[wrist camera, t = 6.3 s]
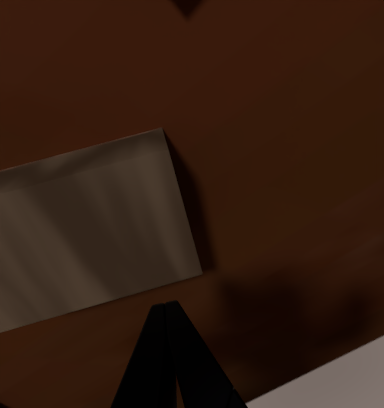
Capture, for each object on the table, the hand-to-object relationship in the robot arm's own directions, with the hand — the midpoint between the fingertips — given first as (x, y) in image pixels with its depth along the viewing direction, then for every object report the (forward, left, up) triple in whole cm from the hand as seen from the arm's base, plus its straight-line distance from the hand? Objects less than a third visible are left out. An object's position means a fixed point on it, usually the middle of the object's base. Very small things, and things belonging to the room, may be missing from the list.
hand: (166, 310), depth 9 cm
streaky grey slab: (-1, -1, -6) cm, 7 cm away
